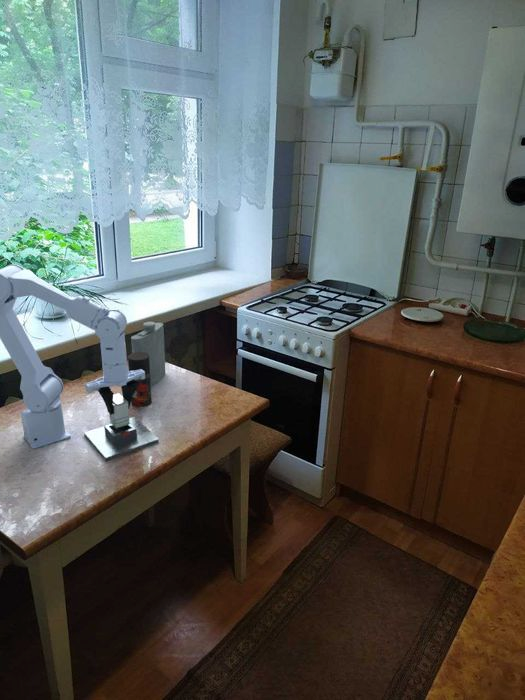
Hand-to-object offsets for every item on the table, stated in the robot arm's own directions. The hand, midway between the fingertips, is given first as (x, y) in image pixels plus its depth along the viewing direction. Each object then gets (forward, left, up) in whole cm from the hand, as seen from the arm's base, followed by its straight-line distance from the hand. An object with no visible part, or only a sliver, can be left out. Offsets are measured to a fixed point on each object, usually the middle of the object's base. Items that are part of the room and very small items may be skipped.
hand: (118, 410), depth 124 cm
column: (0, 0, -5) cm, 5 cm away
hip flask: (+22, +26, -9) cm, 35 cm away
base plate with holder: (0, 0, -8) cm, 8 cm away
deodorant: (+13, +15, -9) cm, 22 cm away
